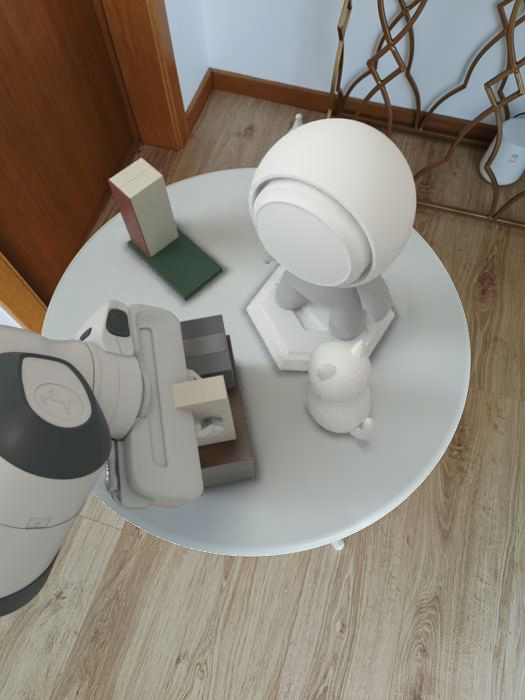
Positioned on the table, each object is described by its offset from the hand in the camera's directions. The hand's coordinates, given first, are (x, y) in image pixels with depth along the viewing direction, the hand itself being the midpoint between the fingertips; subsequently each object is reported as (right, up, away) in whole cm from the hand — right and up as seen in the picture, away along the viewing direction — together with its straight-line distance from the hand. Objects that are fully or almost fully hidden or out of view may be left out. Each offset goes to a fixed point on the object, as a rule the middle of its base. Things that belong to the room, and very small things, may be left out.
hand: (217, 409), depth 58 cm
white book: (-1, -4, +7) cm, 8 cm away
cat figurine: (+16, -2, +19) cm, 25 cm away
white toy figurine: (+14, +12, +25) cm, 31 cm away
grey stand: (-2, -4, +18) cm, 18 cm away
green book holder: (-10, +22, +30) cm, 39 cm away
